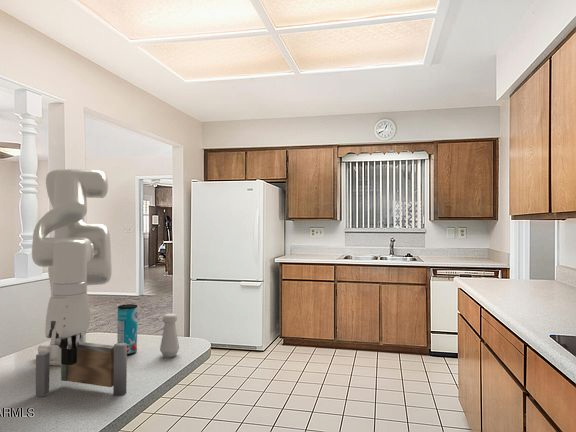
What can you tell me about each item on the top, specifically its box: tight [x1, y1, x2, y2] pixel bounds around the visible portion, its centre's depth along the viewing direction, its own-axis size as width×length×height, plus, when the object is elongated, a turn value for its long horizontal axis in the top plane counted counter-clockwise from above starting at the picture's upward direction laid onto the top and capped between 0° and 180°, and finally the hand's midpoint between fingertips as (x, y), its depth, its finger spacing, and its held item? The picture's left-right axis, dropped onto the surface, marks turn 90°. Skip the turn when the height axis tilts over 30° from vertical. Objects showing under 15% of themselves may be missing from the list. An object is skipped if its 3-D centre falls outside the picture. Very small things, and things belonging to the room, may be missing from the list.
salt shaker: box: [159, 313, 180, 359], centre depth 132 cm, size 6×6×13 cm
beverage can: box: [116, 303, 138, 356], centre depth 134 cm, size 6×6×15 cm
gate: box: [60, 342, 114, 388], centre depth 106 cm, size 15×2×10 cm, turn 74°
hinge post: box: [112, 343, 128, 397], centre depth 103 cm, size 3×3×12 cm
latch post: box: [35, 352, 50, 398], centre depth 102 cm, size 2×2×10 cm
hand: (69, 363), depth 103 cm, fingers closed
